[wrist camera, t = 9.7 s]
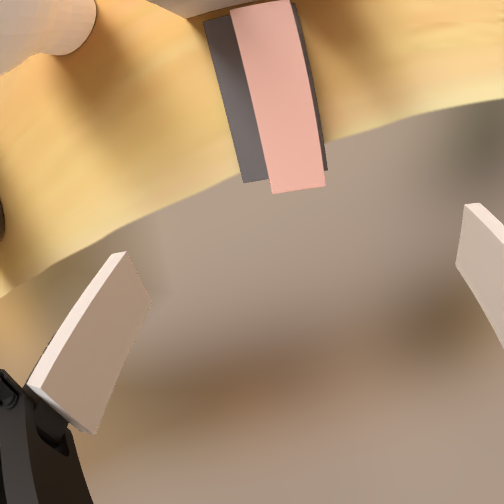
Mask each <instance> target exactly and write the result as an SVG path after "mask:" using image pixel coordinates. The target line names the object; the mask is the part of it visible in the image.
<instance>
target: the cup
mask: <svg viewBox="0 0 504 504" xmlns="http://www.w3.org/2000/svg"><path fill="white" fill-rule="evenodd" d="M95 18H96V5H95V2H94V0H0V76H1V75H3V74H5V73H6V72H8V71H10V70H12V69H13V68H15V67H16V66H18V65H20V64H21V63H22V62H24V61H25V60H26V59H27V58H28V57H30V56H31V55H35V54H38V53H45V54H51V55H66V54H69V53H71V52H73V51H75V50H76V49H77V48H79V47H80V46H81V45H82V44H83V42H84V41H85V40H86V39H87V37H88V36H89V34H90V32H91V30H92V28H93V26H94V23H95Z"/></svg>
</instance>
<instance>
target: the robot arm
mask: <svg viewBox="0 0 504 504" xmlns="http://www.w3.org/2000/svg"><path fill="white" fill-rule="evenodd" d="M3 234H4V216H3V210H2V206H1V203H0V241H1V239H2V237H3ZM455 266H456V267H457V269H458V270H459V272H460V273H461V275H462V276H463V278H464V279H465V281H466V283H467V284H468V286H469V287H470V289H471V291H472V292H473V294H474V295H475V297H476V299H477V300H478V302H479V304H480V306H481V307H482V309H483V311H484V313H485V314H486V316H487V318H488V320H489V322H490V324H491V325H492V327H493V329H494V331H495V333H496V335H497V337H498V339H499V341H500V343H501V345H502V347H503V349H504V225H503V224H502V223H501V222H500V221H498V219H496V218H495V217H494V216H493V215H492V214H491V213H490V212H489V211H488V210H487V209H486V208H485V207H484V206H482V205H481V204H480V203H473V204H465V205H464V213H463V221H462V228H461V235H460V241H459V247H458V253H457V258H456V263H455ZM151 304H152V301H151V299H150V298H149V295H148V294H147V292H146V290H145V288H144V286H143V284H142V282H141V280H140V278H139V276H138V274H137V272H136V270H135V268H134V266H133V264H132V262H131V260H130V258H129V256H128V254H127V252H120V253H114V254H112V255H111V256H110V257H109V259H108V260H107V261H106V262H105V264H104V265H103V267H102V268H101V269H100V270H99V272H98V273H97V275H96V276H95V277H94V279H93V280H92V281H91V283H90V284H89V285H88V287H87V288H86V290H85V291H84V292H83V294H82V295H81V297H80V298H79V300H78V301H77V302H76V304H75V305H74V307H73V308H72V310H71V311H70V313H69V314H68V316H67V317H66V319H65V320H64V322H63V324H62V325H61V326H60V328H59V330H58V331H57V332H56V333H55V334H54V336H53V337H52V339H51V340H50V342H49V344H48V347H46V349H45V350H44V352H43V355H42V356H41V357H40V359H39V361H38V362H37V364H36V366H35V367H34V369H33V371H32V372H31V374H30V376H29V378H28V380H27V381H26V383H25V385H24V386H23V388H21V387H20V386H19V385H18V384H17V383H16V382H15V381H14V380H13V378H12V377H11V376H10V375H9V374H8V373H7V372H6V371H5V370H3V369H0V504H93V501H92V498H91V496H90V493H89V490H88V487H87V484H86V481H85V478H84V475H83V472H82V469H81V465H80V462H79V458H78V455H77V451H76V447H75V444H74V440H73V436H72V433H71V431H70V430H69V429H68V428H67V425H68V423H71V424H72V425H73V426H74V427H75V428H77V429H78V430H79V431H82V432H86V433H89V434H92V435H96V432H97V429H98V427H99V424H100V422H101V419H102V416H103V414H104V411H105V409H106V406H107V404H108V401H109V399H110V396H111V394H112V391H113V389H114V387H115V384H116V382H117V379H118V377H119V375H120V372H121V370H122V368H123V365H124V363H125V361H126V359H127V356H128V354H129V352H130V350H131V347H132V345H133V343H134V340H135V338H136V336H137V334H138V332H139V330H140V327H141V325H142V323H143V321H144V319H145V317H146V315H147V312H148V311H149V308H150V306H151Z"/></svg>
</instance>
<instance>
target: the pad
mask: <svg viewBox="0 0 504 504" xmlns="http://www.w3.org/2000/svg"><path fill="white" fill-rule="evenodd" d="M291 7H292V11H293V15H294V19H295V23H296V27H297V31H298V35H299V39H300V43H301V47H302V52H303V56H304V61H305V65H306V70H307V75H308V80H309V85H310V90H311V95H312V100H313V106H314V111H315V117H316V123H317V129H318V135H319V141H320V148H321V154H322V161H323V169H324V171H326V170H328V168H327V161H326V154H325V147H324V140H323V134H322V128H321V122H320V116H319V110H318V104H317V99H316V94H315V88H314V83H313V78H312V73H311V69H310V64H309V59H308V55H307V50H306V46H305V42H304V38H303V33H302V29H301V25H300V22H299V18H298V14H297V10H296V6H295V3H291ZM203 25H204V29H205V33H206V37H207V41H208V44H209V48H210V52H211V56H212V60H213V64H214V68H215V72H216V76H217V80H218V83H219V87H220V91H221V95H222V99H223V103H224V107H225V111H226V115H227V119H228V123H229V127H230V131H231V135H232V139H233V143H234V147H235V151H236V155H237V159H238V163H239V167H240V171H241V175H242V179H243V183H247V182H253V181H259V180H265V179H269V176H268V171H267V166H266V162H265V157H264V152H263V148H262V143H261V139H260V134H259V130H258V125H257V121H256V116H255V112H254V108H253V103H252V99H251V95H250V90H249V86H248V82H247V78H246V74H245V70H244V66H243V61H242V57H241V53H240V49H239V45H238V41H237V37H236V34H235V30H234V26H233V22H232V18H231V15H227V16H223V17H219V18H215V19H212V20H208V21H205V22H203Z"/></svg>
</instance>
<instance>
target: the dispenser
mask: <svg viewBox="0 0 504 504" xmlns="http://www.w3.org/2000/svg"><path fill="white" fill-rule="evenodd" d="M147 1H149V2H152V3H154V4H156V5H158V6H160V7H163V8H165V9H167V10H169V11H171V12H173V13H175V14H177V15H179V16H181V17H183V18H185V19H188V18H191V17H194V16H197V15H201V14H204V13H207V12H211V11H215V10H218V9H222V8H226V7H230V6H234V5H239V4H243V3H248V2H253V1H258V0H147Z"/></svg>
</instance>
